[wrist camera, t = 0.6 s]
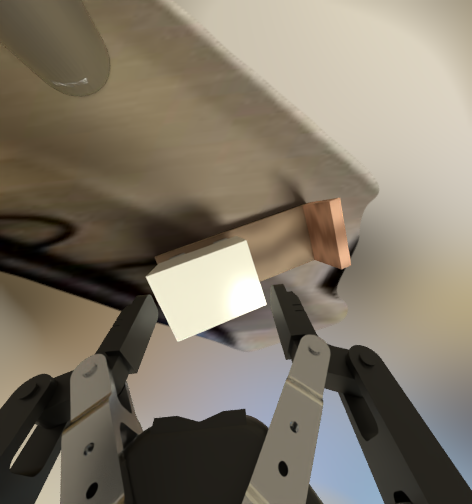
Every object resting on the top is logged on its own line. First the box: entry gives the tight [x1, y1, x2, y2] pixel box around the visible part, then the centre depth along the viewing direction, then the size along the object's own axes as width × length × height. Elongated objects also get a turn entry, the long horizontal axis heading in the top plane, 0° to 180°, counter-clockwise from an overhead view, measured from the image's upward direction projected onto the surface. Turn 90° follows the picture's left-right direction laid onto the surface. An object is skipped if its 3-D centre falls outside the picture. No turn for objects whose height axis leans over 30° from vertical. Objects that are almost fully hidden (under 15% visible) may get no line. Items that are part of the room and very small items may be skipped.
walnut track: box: [154, 198, 351, 282], centre depth 27 cm, size 10×28×8 cm, turn 109°
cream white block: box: [146, 236, 267, 342], centre depth 25 cm, size 9×12×8 cm
